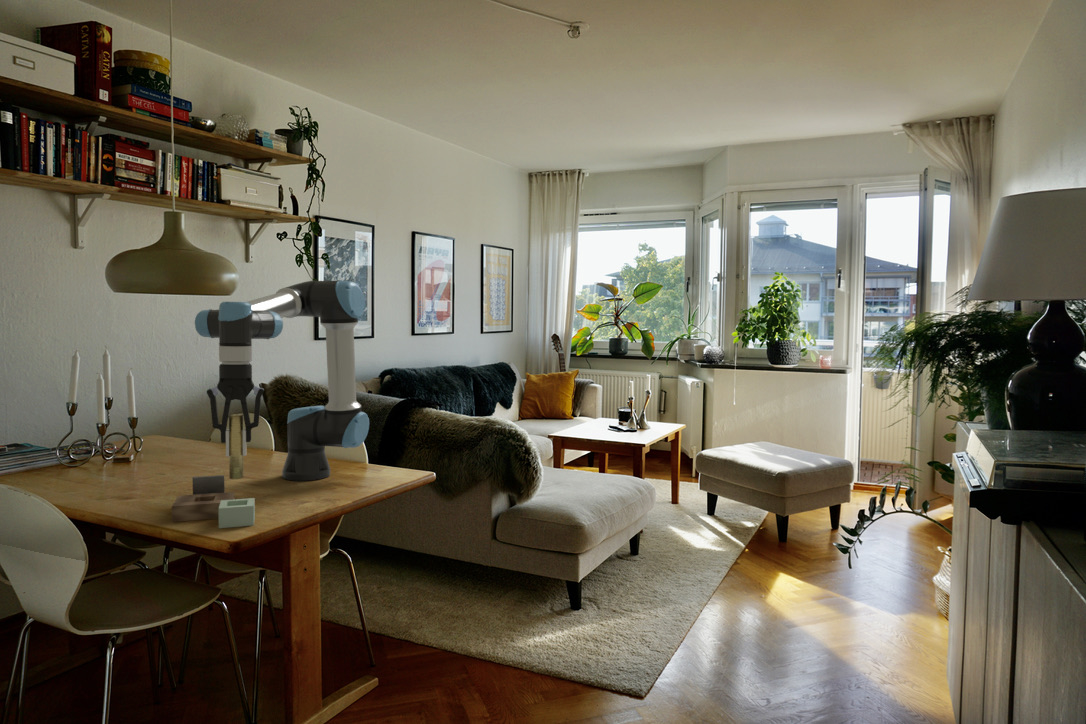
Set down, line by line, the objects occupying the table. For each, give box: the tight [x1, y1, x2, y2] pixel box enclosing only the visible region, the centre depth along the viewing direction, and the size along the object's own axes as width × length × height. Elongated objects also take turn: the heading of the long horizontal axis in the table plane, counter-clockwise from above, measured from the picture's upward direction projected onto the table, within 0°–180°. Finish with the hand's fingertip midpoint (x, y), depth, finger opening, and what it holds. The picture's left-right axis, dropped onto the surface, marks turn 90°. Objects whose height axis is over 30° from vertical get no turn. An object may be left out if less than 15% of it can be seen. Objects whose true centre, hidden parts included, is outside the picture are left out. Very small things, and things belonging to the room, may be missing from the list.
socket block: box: [171, 491, 236, 523], centre depth 182 cm, size 14×11×4 cm
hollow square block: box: [218, 497, 256, 529], centre depth 174 cm, size 8×8×5 cm
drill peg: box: [228, 413, 244, 480], centre depth 173 cm, size 3×3×16 cm
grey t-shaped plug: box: [192, 474, 226, 495], centre depth 188 cm, size 8×10×7 cm
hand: (236, 455), depth 173 cm, fingers closed on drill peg, 3 cm apart
